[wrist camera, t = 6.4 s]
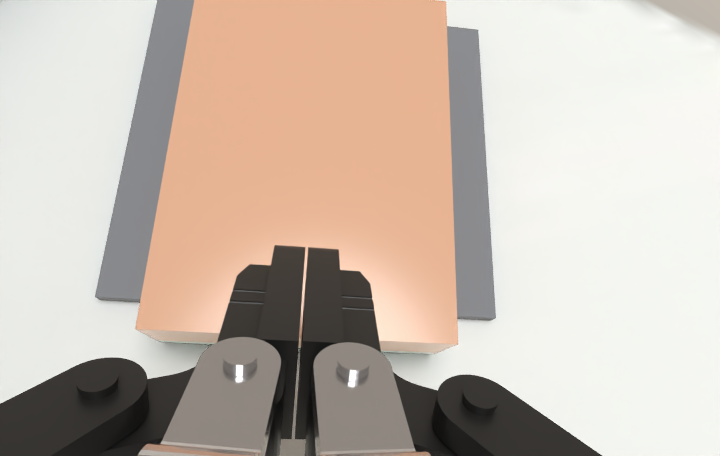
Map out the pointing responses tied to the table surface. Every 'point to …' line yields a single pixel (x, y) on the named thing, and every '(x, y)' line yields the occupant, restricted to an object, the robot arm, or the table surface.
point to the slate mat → (152, 138)
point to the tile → (309, 162)
